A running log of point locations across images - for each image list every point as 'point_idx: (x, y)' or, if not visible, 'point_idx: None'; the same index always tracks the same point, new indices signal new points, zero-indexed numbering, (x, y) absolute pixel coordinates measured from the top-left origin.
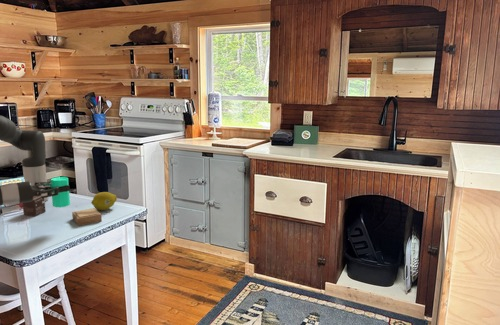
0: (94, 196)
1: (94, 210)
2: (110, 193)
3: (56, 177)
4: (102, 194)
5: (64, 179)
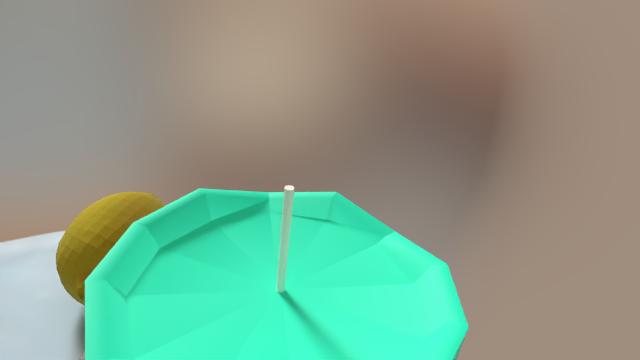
0: (82, 250)
1: None
2: (143, 193)
3: (105, 279)
4: (134, 216)
5: (313, 236)
